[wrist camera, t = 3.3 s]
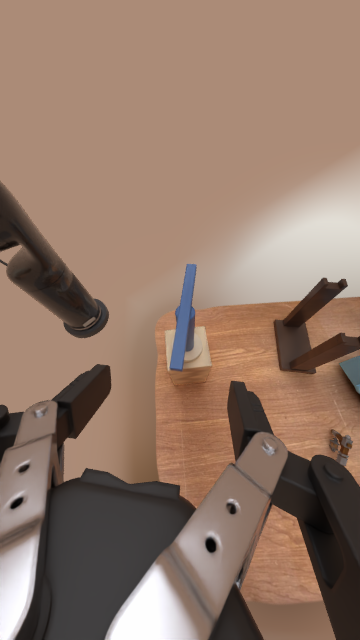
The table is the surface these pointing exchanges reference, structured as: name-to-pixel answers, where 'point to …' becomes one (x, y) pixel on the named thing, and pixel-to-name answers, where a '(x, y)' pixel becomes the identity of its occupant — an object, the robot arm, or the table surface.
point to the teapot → (352, 371)
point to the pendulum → (185, 326)
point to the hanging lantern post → (345, 447)
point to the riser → (191, 370)
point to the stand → (295, 337)
